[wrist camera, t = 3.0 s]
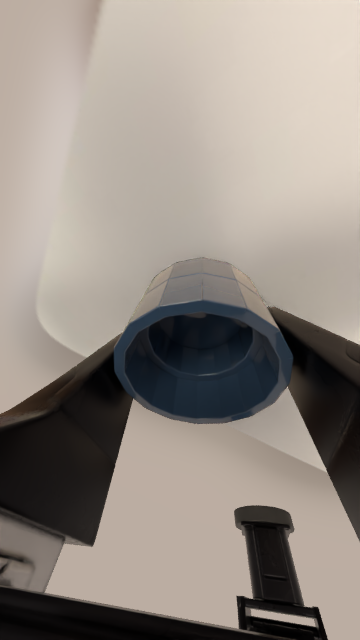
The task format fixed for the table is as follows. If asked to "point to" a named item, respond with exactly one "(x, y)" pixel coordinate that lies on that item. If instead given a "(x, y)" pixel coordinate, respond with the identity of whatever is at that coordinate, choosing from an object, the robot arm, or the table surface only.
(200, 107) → the table surface
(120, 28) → the table surface
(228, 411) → the bowl
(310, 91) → the table surface
